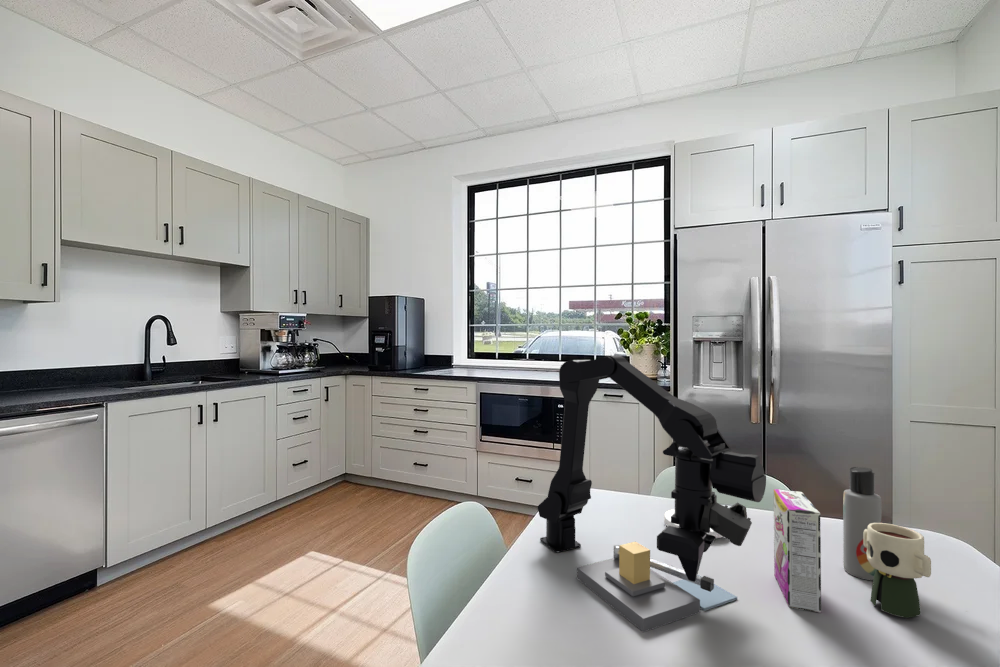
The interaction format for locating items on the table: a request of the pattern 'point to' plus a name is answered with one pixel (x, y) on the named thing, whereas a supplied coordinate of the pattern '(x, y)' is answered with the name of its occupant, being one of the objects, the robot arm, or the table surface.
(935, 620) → the table surface
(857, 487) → the lotion bottle
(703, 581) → the metal lever bar
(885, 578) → the character mug
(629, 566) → the plug
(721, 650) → the table surface
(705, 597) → the mat
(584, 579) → the socket plate
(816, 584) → the candy bar box
